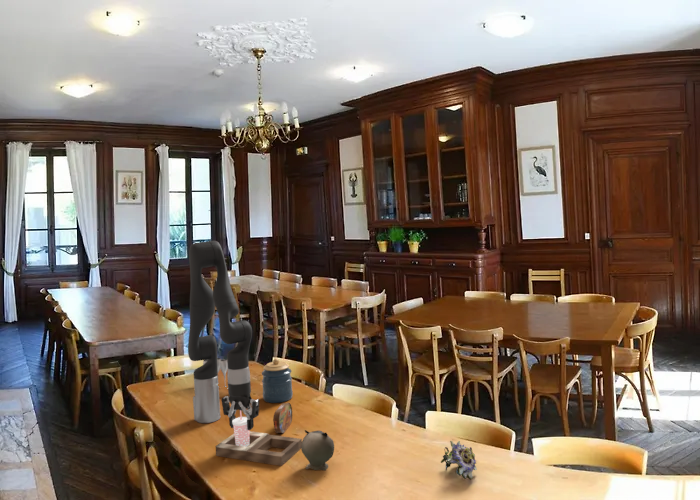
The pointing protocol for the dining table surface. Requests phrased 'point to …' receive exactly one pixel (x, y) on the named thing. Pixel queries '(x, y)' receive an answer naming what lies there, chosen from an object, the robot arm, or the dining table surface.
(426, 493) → the dining table surface
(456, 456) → the passion flower
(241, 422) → the beverage cup
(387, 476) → the dining table surface
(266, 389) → the canister
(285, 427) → the tin
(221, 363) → the goblet set
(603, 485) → the dining table surface
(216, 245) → the robot arm
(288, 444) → the pocket rack
